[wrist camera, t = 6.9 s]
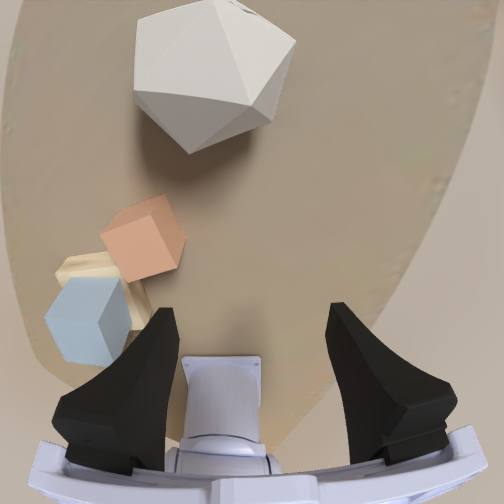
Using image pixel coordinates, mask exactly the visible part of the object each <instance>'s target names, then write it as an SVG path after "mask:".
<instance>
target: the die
mask: <svg viewBox="0 0 504 504" xmlns="http://www.w3.org/2000/svg"><path fill="white" fill-rule="evenodd" d="M295 44H296V40H295V39H293V38H292V37H290V36H289V35H288V34H286V33H285V32H283V31H282V30H281V29H279V28H278V27H276V26H275V25H273V24H272V23H270V22H269V21H267V20H266V19H264V18H263V17H261V16H260V15H258V14H257V13H255V12H254V11H252V10H250V9H249V8H247V7H246V6H244V5H242V4H241V3H239V2H237V1H235V0H204V1H200V2H196V3H192V4H188V5H184V6H180V7H177V8H173V9H170V10H166V11H163V12H160V13H157V14H154V15H151V16H148V17H145V18H142V19H139V20H138V22H137V33H136V46H135V62H134V85H133V101H134V102H135V103H136V104H137V105H138V106H139V107H140V108H141V109H142V110H143V111H144V112H145V113H146V114H147V115H148V116H149V117H151V118H152V119H153V120H154V121H155V122H156V123H157V124H158V125H159V126H160V127H161V128H162V129H163V130H164V131H165V132H166V133H167V134H168V135H169V136H171V137H172V138H173V139H174V140H175V141H176V142H177V143H178V144H179V145H180V146H181V147H182V148H183V149H184V150H185V151H186V152H187V153H188V154H192V153H194V152H196V151H199V150H201V149H203V148H206V147H208V146H211V145H213V144H216V143H218V142H220V141H223V140H225V139H228V138H231V137H233V136H236V135H238V134H241V133H244V132H246V131H249V130H252V129H254V128H257V127H260V126H262V125H265V124H268V123H271V122H273V119H274V116H275V112H276V109H277V105H278V102H279V99H280V95H281V92H282V88H283V85H284V81H285V78H286V75H287V71H288V68H289V65H290V61H291V58H292V54H293V51H294V48H295Z"/></svg>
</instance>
